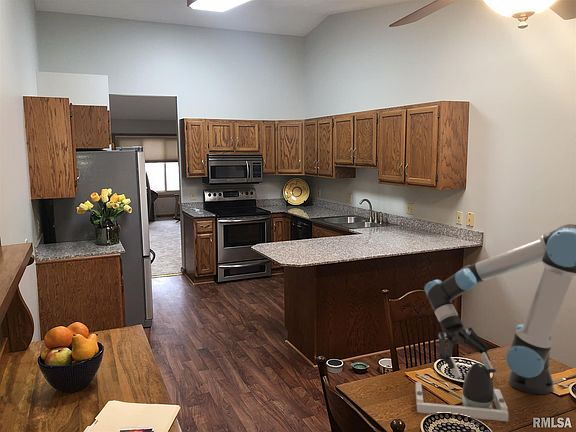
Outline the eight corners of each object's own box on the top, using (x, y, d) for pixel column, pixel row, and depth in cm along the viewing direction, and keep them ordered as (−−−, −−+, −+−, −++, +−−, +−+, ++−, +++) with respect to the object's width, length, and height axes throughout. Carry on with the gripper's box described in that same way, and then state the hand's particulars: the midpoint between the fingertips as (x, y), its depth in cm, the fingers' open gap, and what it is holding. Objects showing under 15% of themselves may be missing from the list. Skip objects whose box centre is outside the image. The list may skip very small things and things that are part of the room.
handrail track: (499, 399, 166) (499, 387, 165) (508, 421, 152) (508, 408, 151) (415, 392, 172) (415, 380, 172) (417, 412, 159) (417, 399, 158)
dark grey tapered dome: (492, 416, 155) (493, 373, 153) (459, 407, 160) (460, 366, 158) (496, 402, 163) (497, 361, 161) (465, 394, 169) (466, 355, 167)
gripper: (471, 319, 180) (498, 372, 168) (415, 327, 173) (439, 383, 160) (481, 310, 175) (509, 364, 162) (424, 318, 167) (449, 376, 155)
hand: (475, 374), depth 161 cm, fingers open, 13 cm apart
